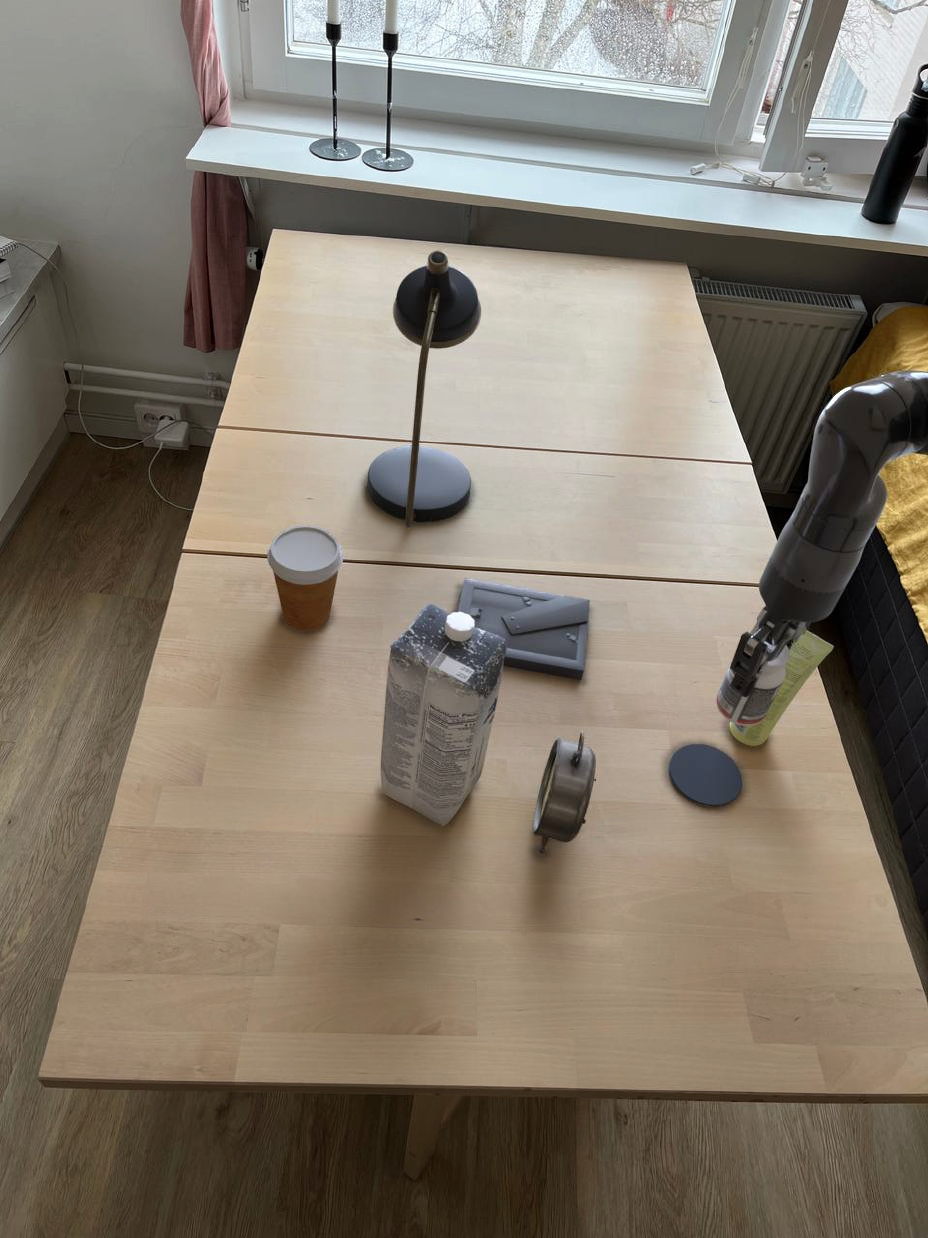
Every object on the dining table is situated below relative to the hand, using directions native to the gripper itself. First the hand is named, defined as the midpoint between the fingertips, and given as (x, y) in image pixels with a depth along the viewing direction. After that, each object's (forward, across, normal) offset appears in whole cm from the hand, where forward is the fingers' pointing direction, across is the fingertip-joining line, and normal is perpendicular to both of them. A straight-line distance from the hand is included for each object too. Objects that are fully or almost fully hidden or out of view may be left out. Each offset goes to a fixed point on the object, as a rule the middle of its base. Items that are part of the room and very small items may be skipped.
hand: (755, 676), depth 105 cm
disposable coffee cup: (+19, -20, +52) cm, 59 cm away
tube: (+19, +10, 0) cm, 22 cm away
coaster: (+19, 0, 0) cm, 19 cm away
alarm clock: (+19, -19, +8) cm, 28 cm away
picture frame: (+19, 0, +31) cm, 37 cm away
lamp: (+19, +9, +61) cm, 65 cm away
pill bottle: (+6, 0, 0) cm, 6 cm away
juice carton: (+19, -27, +21) cm, 39 cm away
